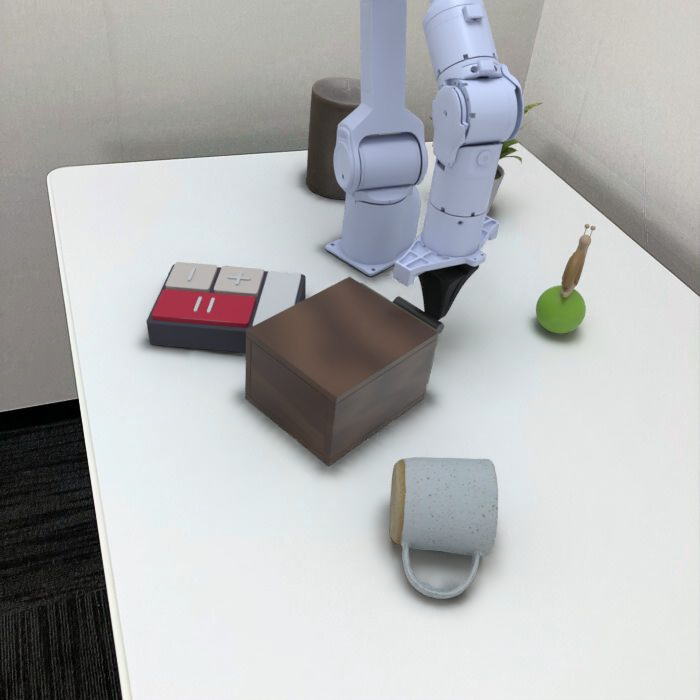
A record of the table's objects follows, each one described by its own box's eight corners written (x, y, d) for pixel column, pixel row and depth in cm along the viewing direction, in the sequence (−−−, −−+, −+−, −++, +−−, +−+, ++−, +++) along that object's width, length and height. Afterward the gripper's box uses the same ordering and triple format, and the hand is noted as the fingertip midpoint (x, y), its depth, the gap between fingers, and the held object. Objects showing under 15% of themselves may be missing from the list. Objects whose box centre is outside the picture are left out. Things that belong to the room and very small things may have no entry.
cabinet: (342, 341, 83) (349, 276, 78) (424, 398, 78) (438, 332, 72) (244, 398, 75) (245, 329, 70) (328, 466, 70) (336, 397, 64)
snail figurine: (583, 319, 91) (616, 231, 83) (572, 349, 86) (605, 259, 79) (539, 304, 92) (566, 216, 85) (525, 333, 88) (553, 243, 80)
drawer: (380, 318, 86) (388, 267, 81) (454, 365, 81) (466, 314, 76) (267, 384, 76) (268, 330, 72) (342, 443, 71) (349, 389, 66)
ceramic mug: (385, 492, 68) (396, 433, 63) (477, 499, 68) (496, 441, 63) (386, 601, 60) (399, 543, 55) (491, 608, 60) (513, 551, 55)
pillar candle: (300, 194, 107) (306, 88, 97) (311, 163, 115) (318, 62, 105) (369, 204, 107) (382, 99, 97) (376, 172, 114) (389, 71, 105)
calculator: (172, 256, 86) (306, 268, 86) (176, 288, 89) (306, 299, 88) (144, 316, 78) (292, 329, 77) (149, 349, 80) (292, 361, 80)
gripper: (443, 244, 68) (419, 360, 77) (534, 196, 77) (503, 305, 86) (384, 211, 72) (368, 326, 80) (478, 169, 80) (454, 276, 89)
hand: (434, 313), depth 83 cm, fingers closed
